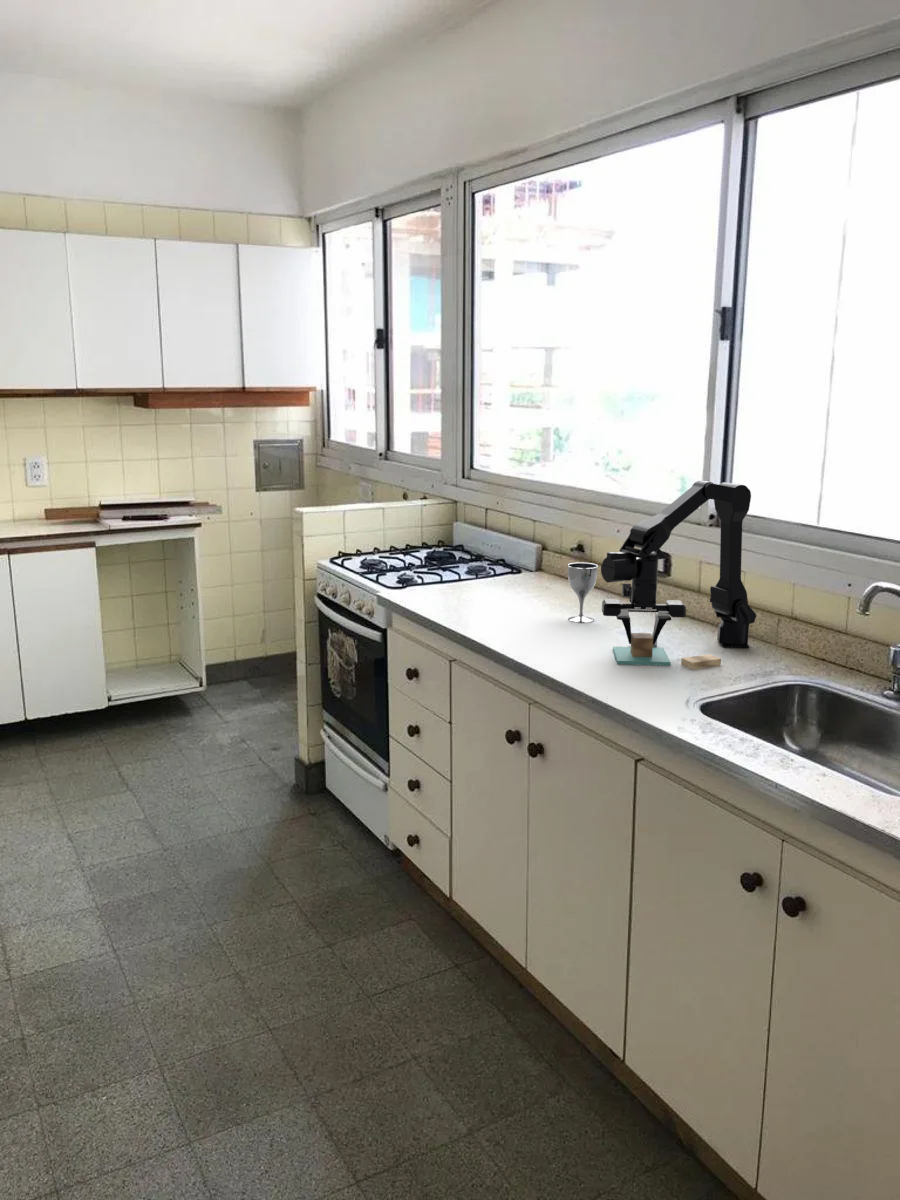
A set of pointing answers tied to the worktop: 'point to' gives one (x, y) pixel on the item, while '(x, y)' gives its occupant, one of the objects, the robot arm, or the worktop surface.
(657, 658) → the plate
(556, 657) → the worktop surface
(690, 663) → the beech slab
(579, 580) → the wine glass
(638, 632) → the metal tin
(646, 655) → the walnut block
